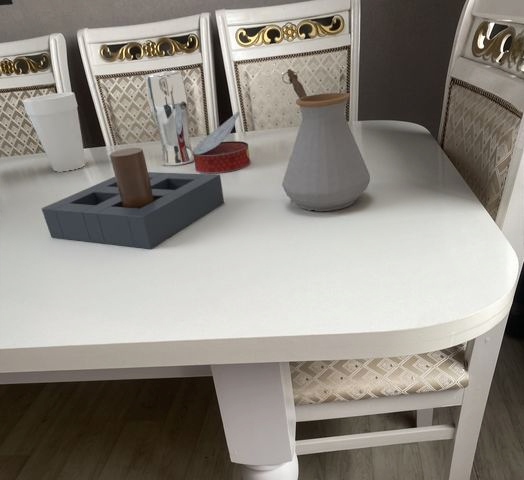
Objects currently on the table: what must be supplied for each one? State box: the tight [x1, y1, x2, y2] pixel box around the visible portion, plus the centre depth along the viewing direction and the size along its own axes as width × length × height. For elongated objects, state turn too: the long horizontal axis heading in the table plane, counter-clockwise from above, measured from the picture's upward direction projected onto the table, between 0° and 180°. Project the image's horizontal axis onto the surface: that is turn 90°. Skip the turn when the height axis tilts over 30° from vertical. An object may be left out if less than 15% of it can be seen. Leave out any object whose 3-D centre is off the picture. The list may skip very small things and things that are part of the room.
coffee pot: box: [281, 68, 371, 212], centre depth 71 cm, size 21×12×15 cm, turn 12°
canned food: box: [192, 111, 251, 174], centre depth 92 cm, size 11×10×10 cm
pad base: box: [41, 171, 225, 250], centre depth 72 cm, size 17×17×4 cm
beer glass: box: [143, 69, 194, 167], centre depth 96 cm, size 7×7×15 cm
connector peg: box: [109, 147, 154, 209], centre depth 66 cm, size 4×4×10 cm
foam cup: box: [22, 91, 86, 173], centre depth 102 cm, size 10×9×13 cm
